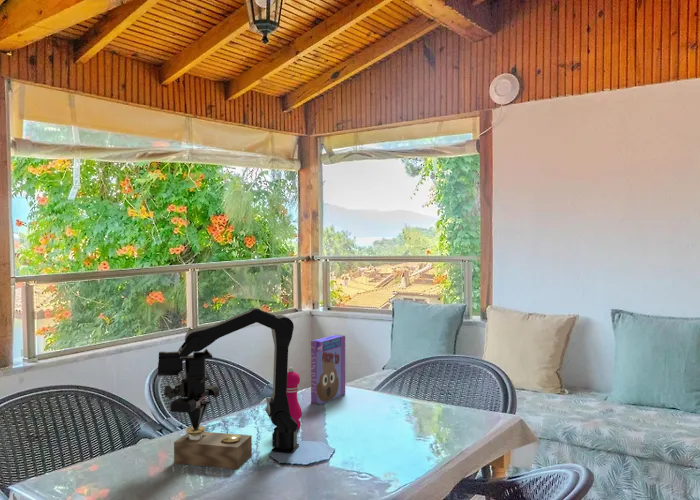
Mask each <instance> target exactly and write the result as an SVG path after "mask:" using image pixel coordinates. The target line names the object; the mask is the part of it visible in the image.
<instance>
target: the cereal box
mask: <svg viewBox="0 0 700 500" xmlns="http://www.w3.org/2000/svg"><path fill="white" fill-rule="evenodd" d="M310 392H311V393H310V395H311V396H310V403H311V404H314V405H320V406H323V405H325V404H327V403H329V402H331V401H333V400H336V399H338V398H340V396H341V397H343V396H345V395H346V335H344V334H333V335H328V336H326V337H325V336H324V337H321V338H318V339H314V340H311V341H310ZM344 394H345V395H344ZM342 395H343V396H342Z"/></svg>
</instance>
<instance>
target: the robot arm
mask: <svg viewBox="0 0 700 500" xmlns="http://www.w3.org/2000/svg"><path fill="white" fill-rule="evenodd" d="M255 323H258V324H260V325H262V326H264V327H267V328H269V329H270V330H271V334H272V340H273V345H274V346H273V347H274V349H273V350H274V351H273V352H274V353H273V376H272V377H273V379H272V393H271V397H266V398H265V399H266V400H265V402H266V408H265V412H266V414H267V416H268V418H269V420H270V421H271V423H272V424H273V425H274V426H275V427H274V428H273V433H272V434H271V437H272V441H271V442H272V443H271V446H272V448H271V451H272V452H280V453H290V452H292V453H294V452H295V451H296V449H297V448H298V447H299V446H300V444H299V443H298V429H297V427H298V424H297V423H296V421H295V420H294V419H293V417H292V416H291V415H290V409H289V403H288V399H287V372H288V369H289V368H288V367H289V365H288V363H289V347H290V344H291V341H292V339H293V338H292V337H293V334H294V327H295V326H294V322H293V320H291V318H289V317H287V316H286V315H285V314H277V315H274V314H273V313H269V312H267V311H264V310H262V309H260V308H259V307H252V308H250V309H249V310H247V311H244V312H242V313H239V314H237V315H235V316H233V317H230V318H228V319H225V320H222V321H220V322H218V323H215V324H213V325H207V326H206V325H205V326H199V327H197V328H192V329H190V330H188V331H187V332H186V333H185V336H184V341H183V343H182V344H181V346H180V347H179V349H178V350H176V351H159V352H158V362H157V377H169V376H170V377H171V376H179V375H180V374H181V372H184V378H182V379H181V380H180V381H181V382H180V383H177V384H173V383H171V384H167V385H165V386H164V389H163V391H164V393H163V396H165V397H166V398H168V400H172V399H173V398H176V397H178V398H176V399H174V400H172V401H171V402H170V403H169V411H170V412H172V413H184V414H186V413H187V414H188V417H189V419H190V422H191V426H193V428H194V429H197V428H198V427H199V426H201V423H202V420H203V418H204V416H205V414H206V411H207V409H208V407H209V406H210V404H211V401H208V400H207V399H206V397H208V396H212V398H213V399H216V398H217V397H219V396H220V389H219V388H218V386H216V385H214V386H213V385H207V381H209V375H207V374H206V373H207V369H206V367H207V364H206V362H207V360H206V359H213V357H214V356H213V355H212V354H213V353H211V352H210V351H209V350H208V348H207V347H209V346H210V345H212V344H213V343H214V342H216V340H219V339H221V338H222V337H224V336H227V335H230V334H232V333H235V332H237V331H239V330H242V329H243V328H246V327H248V326H251V325H254V324H255ZM184 361H185V362H184ZM183 363H184V366H183ZM183 368H184V370H183ZM179 396H180V397H179ZM293 451H294V452H293Z"/></svg>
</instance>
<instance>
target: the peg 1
mask: <svg viewBox="0 0 700 500" xmlns="http://www.w3.org/2000/svg"><path fill="white" fill-rule="evenodd" d="M185 432H186V434H187V433H188V434H189V440H200V439H202V433H203V432H206V427H205V426H203V425H199V427H198V428H197V429H194V428H193V426H192V425H191V426H188V427H187V428H186V429H185Z"/></svg>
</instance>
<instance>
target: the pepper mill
mask: <svg viewBox="0 0 700 500" xmlns="http://www.w3.org/2000/svg"><path fill="white" fill-rule="evenodd" d="M300 382H301V377H300V374H298V373H297V372H296V371H294V367H292V366H290V367H289V368H288V369H287V399H288V403H289V409H290V415H291V416H292V417H293V419H294V420H295V421H296V423H297V424H298V427H297V430H298V429H300V428H301V420H300V419H301V418H302V416H303V412H302V407H301V405H300V403H299V401H298V400H299V399H298V392H299V387H300V386H299V385H300Z"/></svg>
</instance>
